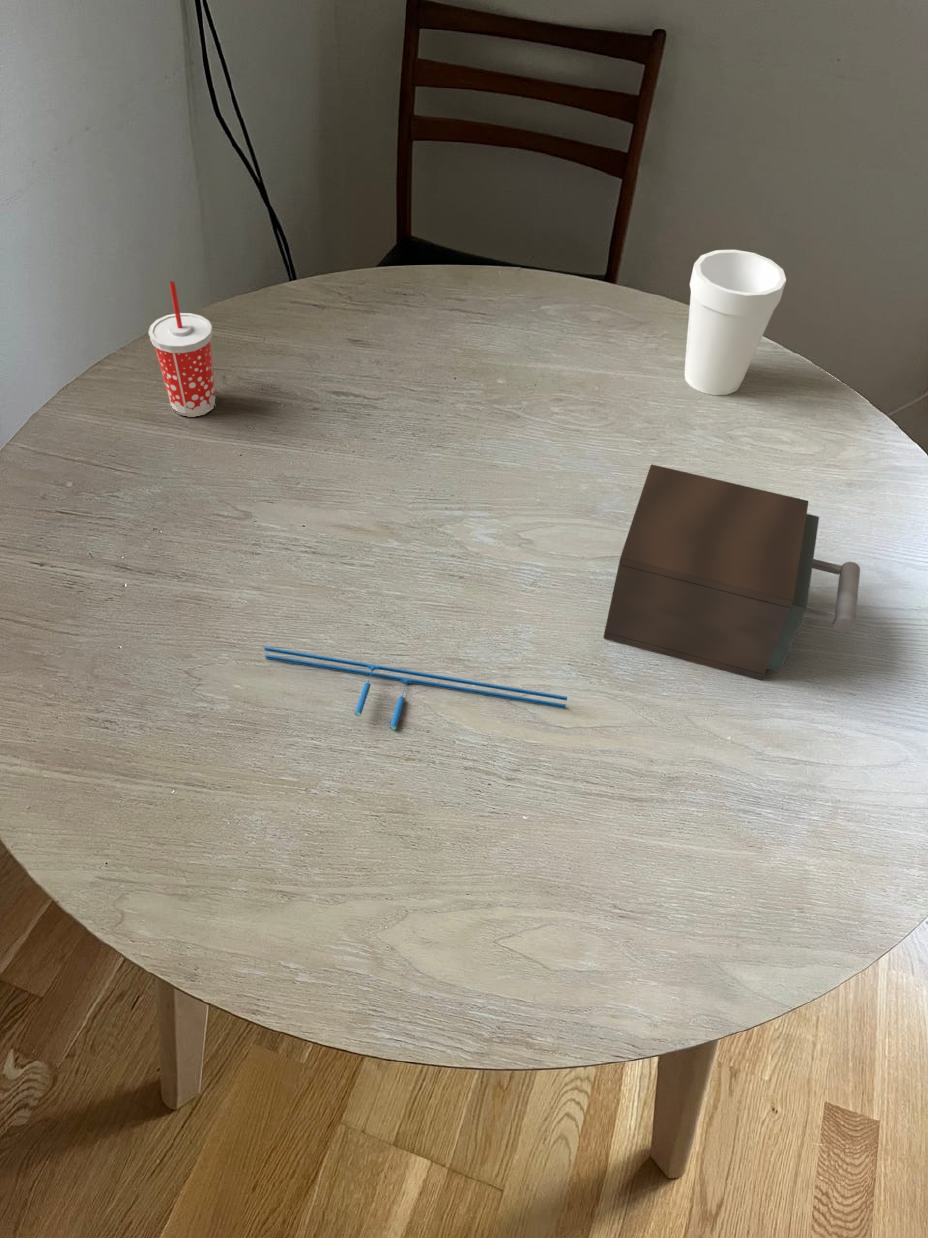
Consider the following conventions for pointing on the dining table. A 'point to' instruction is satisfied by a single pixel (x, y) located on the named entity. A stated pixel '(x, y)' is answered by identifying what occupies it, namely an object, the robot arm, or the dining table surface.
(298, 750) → the dining table surface
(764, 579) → the cabinet
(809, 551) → the drawer
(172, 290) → the beverage cup
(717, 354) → the foam cup
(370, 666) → the bar handle
